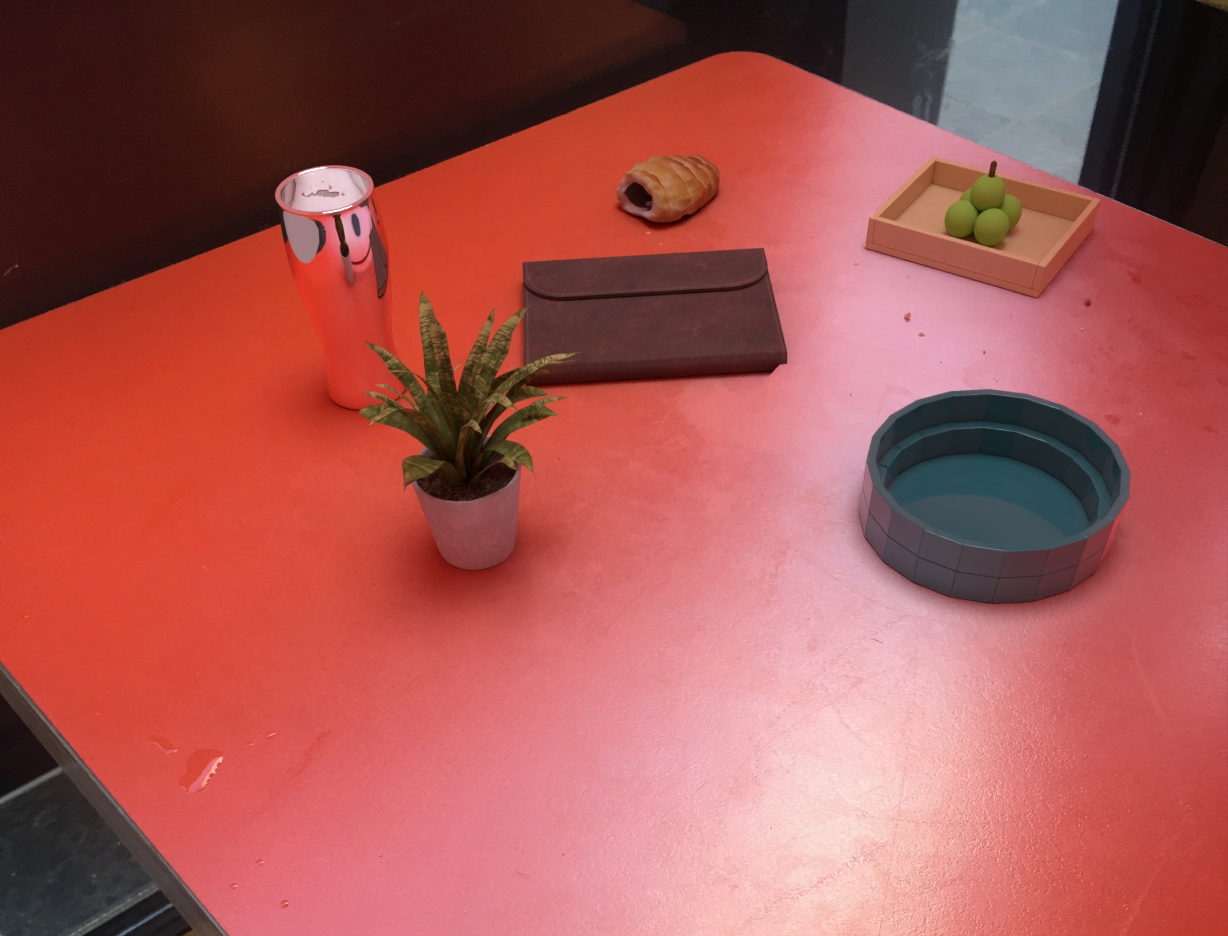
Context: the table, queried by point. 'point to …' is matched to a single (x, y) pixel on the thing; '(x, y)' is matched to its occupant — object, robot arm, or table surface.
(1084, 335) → the table surface
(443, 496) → the house plant
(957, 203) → the grapes
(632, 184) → the pastry
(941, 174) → the tray
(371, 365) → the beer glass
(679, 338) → the notebook
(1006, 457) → the bowl
